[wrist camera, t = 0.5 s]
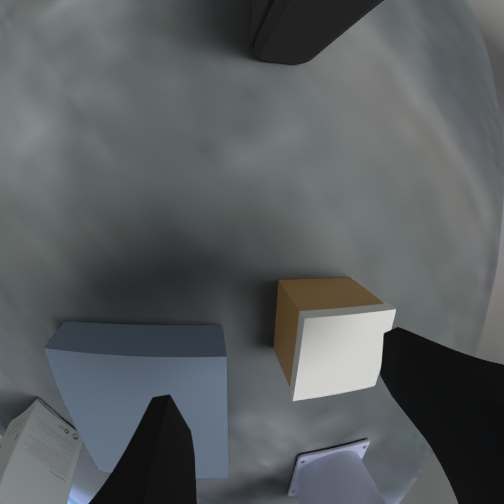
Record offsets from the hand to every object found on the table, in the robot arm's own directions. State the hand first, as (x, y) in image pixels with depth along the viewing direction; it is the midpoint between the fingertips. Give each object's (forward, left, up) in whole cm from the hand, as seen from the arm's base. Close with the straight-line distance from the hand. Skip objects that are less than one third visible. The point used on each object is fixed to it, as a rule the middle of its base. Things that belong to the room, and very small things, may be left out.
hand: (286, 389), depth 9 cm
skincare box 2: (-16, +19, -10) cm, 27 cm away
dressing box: (-9, +7, -10) cm, 15 cm away
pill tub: (-2, -5, -10) cm, 11 cm away
